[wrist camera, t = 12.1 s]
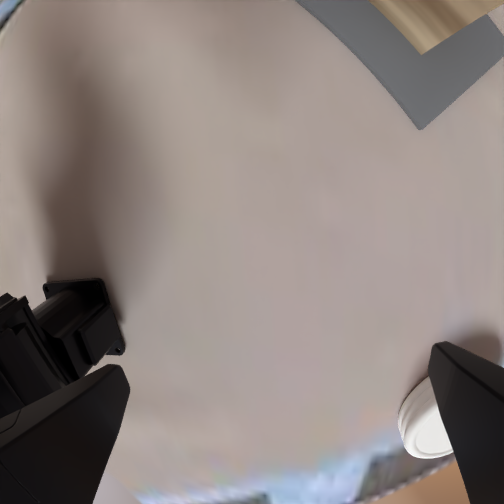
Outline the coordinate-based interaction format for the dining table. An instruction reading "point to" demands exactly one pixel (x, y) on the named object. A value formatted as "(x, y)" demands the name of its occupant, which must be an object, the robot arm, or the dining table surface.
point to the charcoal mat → (412, 55)
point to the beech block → (432, 18)
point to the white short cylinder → (423, 424)
